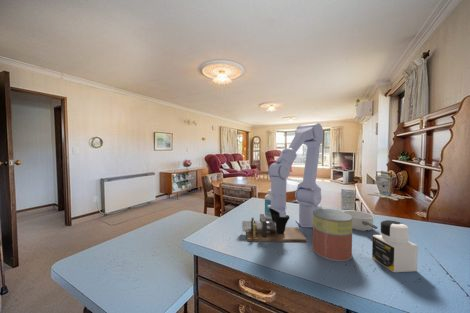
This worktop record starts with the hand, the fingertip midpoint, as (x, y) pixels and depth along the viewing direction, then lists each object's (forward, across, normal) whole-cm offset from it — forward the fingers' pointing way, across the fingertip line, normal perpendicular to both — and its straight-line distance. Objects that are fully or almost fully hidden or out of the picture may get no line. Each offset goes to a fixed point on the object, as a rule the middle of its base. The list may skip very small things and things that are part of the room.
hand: (278, 229), depth 73 cm
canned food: (+2, +12, +14) cm, 19 cm away
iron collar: (+2, 0, -6) cm, 6 cm away
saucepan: (+2, -4, +35) cm, 36 cm away
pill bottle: (+2, -19, +2) cm, 19 cm away
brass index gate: (+2, 0, -10) cm, 10 cm away
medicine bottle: (+2, +19, +28) cm, 34 cm away
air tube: (+2, 0, -6) cm, 6 cm away
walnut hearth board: (+2, 0, -2) cm, 2 cm away
